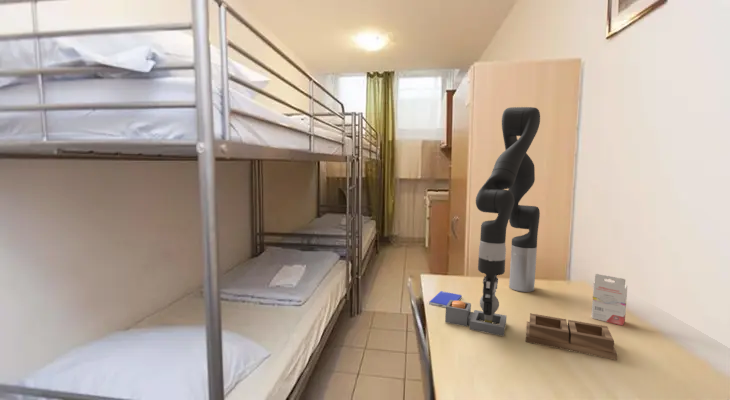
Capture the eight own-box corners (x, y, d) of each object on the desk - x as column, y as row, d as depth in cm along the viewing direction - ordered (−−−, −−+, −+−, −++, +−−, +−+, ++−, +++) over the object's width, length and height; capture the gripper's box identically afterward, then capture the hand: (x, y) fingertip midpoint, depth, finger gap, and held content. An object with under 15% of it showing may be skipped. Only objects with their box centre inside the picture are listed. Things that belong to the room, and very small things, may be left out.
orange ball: (453, 310, 116) (453, 299, 115) (465, 312, 114) (466, 301, 114) (450, 314, 112) (450, 303, 112) (463, 317, 110) (464, 306, 110)
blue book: (440, 290, 137) (429, 301, 126) (461, 295, 133) (452, 305, 122) (440, 294, 137) (428, 305, 127) (461, 299, 133) (451, 310, 123)
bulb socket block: (450, 313, 119) (451, 298, 118) (506, 323, 112) (506, 307, 111) (444, 324, 110) (444, 308, 110) (503, 336, 103) (504, 319, 103)
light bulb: (499, 331, 106) (500, 298, 105) (479, 329, 107) (481, 296, 106) (496, 323, 111) (497, 291, 111) (477, 321, 113) (479, 290, 112)
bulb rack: (526, 326, 110) (527, 311, 110) (608, 341, 101) (610, 325, 101) (525, 341, 100) (526, 326, 100) (616, 360, 91) (618, 342, 91)
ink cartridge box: (625, 321, 115) (629, 276, 113) (622, 326, 111) (626, 279, 110) (593, 313, 121) (597, 270, 119) (590, 318, 117) (594, 273, 116)
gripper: (481, 250, 115) (479, 299, 117) (475, 260, 102) (472, 315, 104) (507, 253, 112) (504, 303, 114) (503, 263, 99) (500, 320, 101)
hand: (489, 309), depth 109 cm, fingers open, 8 cm apart
